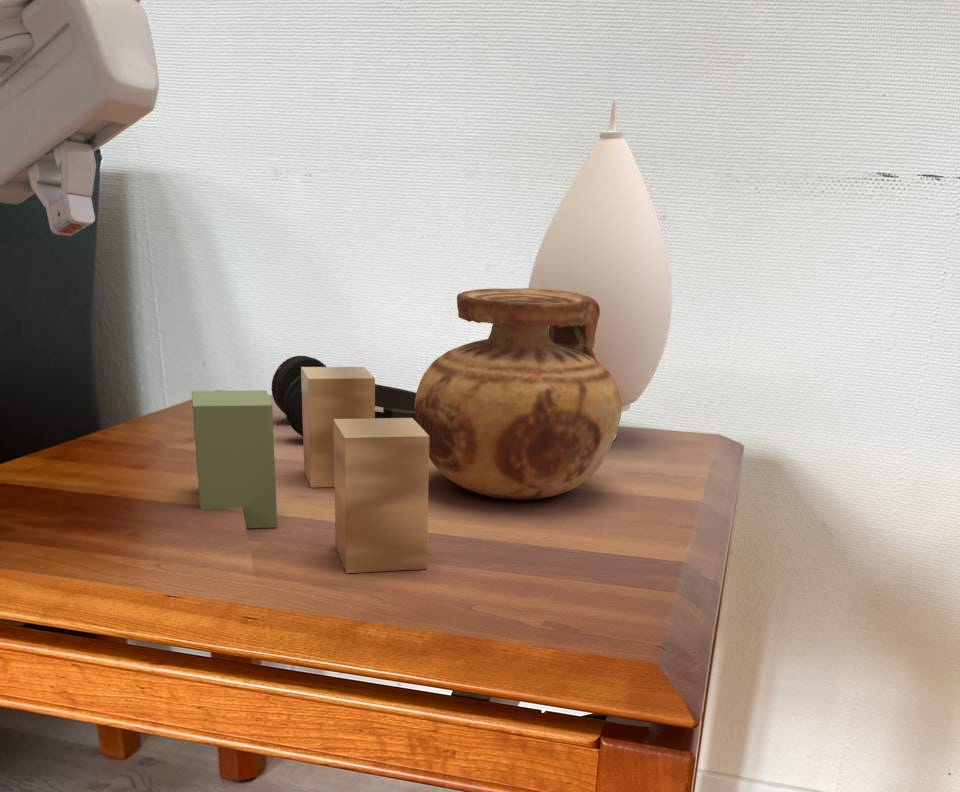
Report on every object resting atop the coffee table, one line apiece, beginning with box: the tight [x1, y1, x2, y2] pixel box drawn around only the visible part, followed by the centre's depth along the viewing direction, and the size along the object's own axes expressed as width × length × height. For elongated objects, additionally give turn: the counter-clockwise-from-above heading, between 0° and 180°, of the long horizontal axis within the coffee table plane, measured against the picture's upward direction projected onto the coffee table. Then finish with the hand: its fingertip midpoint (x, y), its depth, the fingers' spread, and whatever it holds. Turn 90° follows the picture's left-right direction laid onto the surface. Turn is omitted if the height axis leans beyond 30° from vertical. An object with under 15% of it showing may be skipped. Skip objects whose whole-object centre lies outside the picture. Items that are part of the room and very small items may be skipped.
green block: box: [191, 389, 278, 530], centre depth 83 cm, size 6×6×10 cm
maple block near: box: [333, 418, 430, 574], centre depth 76 cm, size 6×6×10 cm
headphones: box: [271, 355, 417, 437], centre depth 117 cm, size 17×8×20 cm
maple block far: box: [301, 366, 376, 489], centre depth 96 cm, size 6×6×10 cm
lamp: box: [527, 97, 673, 436], centre depth 112 cm, size 16×16×35 cm
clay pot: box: [415, 287, 622, 501], centre depth 94 cm, size 19×19×20 cm
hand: (73, 229), depth 69 cm, fingers closed
